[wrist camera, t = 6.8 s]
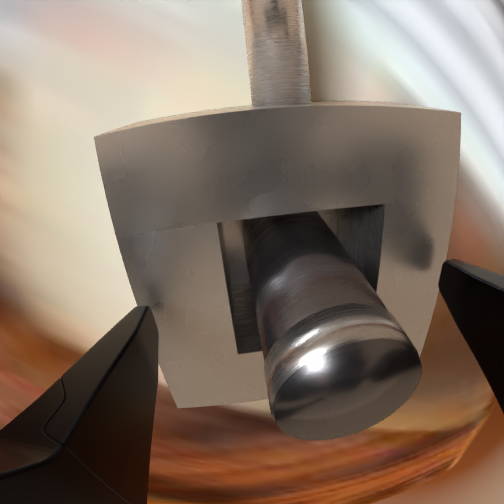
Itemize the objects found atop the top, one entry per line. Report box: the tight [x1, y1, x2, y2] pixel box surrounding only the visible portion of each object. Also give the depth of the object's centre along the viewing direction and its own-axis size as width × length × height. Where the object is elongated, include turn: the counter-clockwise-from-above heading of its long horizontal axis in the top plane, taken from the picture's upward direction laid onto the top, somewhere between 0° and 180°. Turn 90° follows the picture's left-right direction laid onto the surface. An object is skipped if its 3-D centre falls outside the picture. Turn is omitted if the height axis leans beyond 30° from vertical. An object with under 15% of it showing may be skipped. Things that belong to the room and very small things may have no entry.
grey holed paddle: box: [94, 0, 461, 408], centre depth 9 cm, size 20×10×4 cm, turn 5°
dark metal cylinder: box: [242, 211, 422, 440], centre depth 9 cm, size 3×3×8 cm
